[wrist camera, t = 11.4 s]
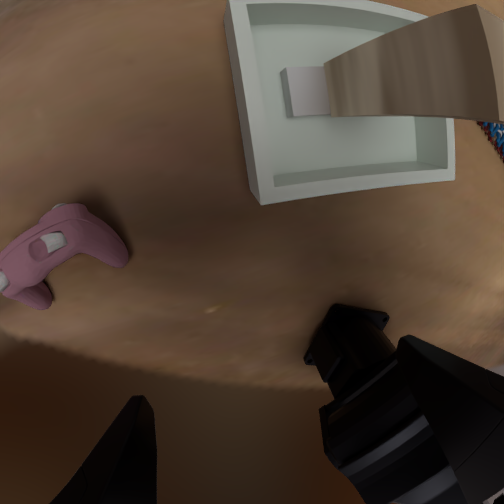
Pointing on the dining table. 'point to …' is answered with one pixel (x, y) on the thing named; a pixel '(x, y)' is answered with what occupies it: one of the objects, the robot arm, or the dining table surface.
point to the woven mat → (495, 135)
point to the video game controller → (55, 251)
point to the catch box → (322, 126)
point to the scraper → (410, 73)
